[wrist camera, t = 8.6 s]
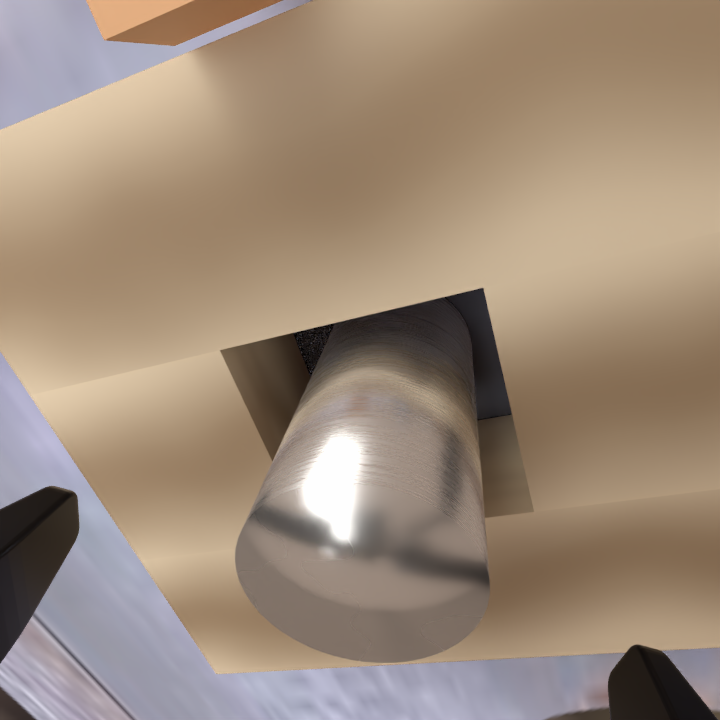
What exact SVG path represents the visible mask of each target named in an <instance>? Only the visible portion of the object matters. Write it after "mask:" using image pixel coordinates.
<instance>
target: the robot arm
mask: <svg viewBox="0 0 720 720" xmlns="http://www.w3.org/2000/svg"><path fill="white" fill-rule="evenodd" d="M78 533H79V513H78V499H77V495H76V494H75V492H73V491H71V490H67V489H63V488H59V487H56V486H49V487H45V488H43V489H41V490H39V491H37V492H35V493H33V494H30V495H28V496H26V497H24V498H22V499H20V500H18V501H16V502H14V503H12V504H10V505H8V506H6V507H4V508H2V509H0V663H1V662H2V660H3V659H4V658H5V656H6V655H7V653H8V652H9V651H10V649H11V648H12V646H13V645H14V643H15V642H16V640H17V639H18V638H19V636H20V635H21V633H22V632H23V630H24V628H25V627H26V625H27V623H28V622H29V620H30V618H31V617H32V615H33V613H34V612H35V610H36V608H37V606H38V605H39V603H40V601H41V600H42V598H43V596H44V594H45V593H46V591H47V589H48V588H49V586H50V584H51V582H52V581H53V579H54V577H55V575H56V574H57V572H58V570H59V569H60V567H61V565H62V563H63V562H64V560H65V558H66V556H67V555H68V553H69V551H70V550H71V548H72V546H73V544H74V543H75V541H76V538H77V536H78ZM608 695H609V707H610V719H611V720H718V719H717V718H716V717H715V716H714V714H713V713H712V712H711V710H710V709H709V708H708V707H707V705H706V704H705V703H704V702H703V700H702V699H701V698H700V697H699V695H698V694H697V693H696V692H695V690H694V689H693V688H692V687H691V685H690V684H689V683H688V682H687V680H686V679H685V678H684V677H683V675H682V674H681V673H680V672H679V670H678V669H677V668H676V666H675V665H674V664H673V663H672V661H671V660H670V659H669V658H668V657H667V656H666V655H665V654H664V653H663V652H662V651H660V650H657V649H654V648H650V647H647V646H643V645H639V644H636V645H633V646H631V647H630V648H629V649H628V651H627V652H626V653H625V655H624V656H623V657H622V658H621V660H620V661H619V662H618V664H617V665H616V666H615V667H614V669H613V670H612V672H611V674H610V676H609V681H608Z"/></svg>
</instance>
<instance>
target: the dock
mask: <svg viewBox="0 0 720 720" xmlns="http://www.w3.org/2000/svg"><path fill="white" fill-rule="evenodd" d="M480 288H484V293H485V297H486V302H487V306H488V310H489V315H490V319H491V324H492V328H493V333H494V337H495V341H496V346H497V350H498V355H499V359H500V363H501V368H502V372H503V377H504V381H505V386H506V390H507V394H508V399H509V403H510V408H511V412H512V415H507V416H502V417H496V418H490V419H484V420H478V435H479V448H480V461H481V474H482V487H483V500H484V513H485V526H486V539H487V553H488V566H489V579H490V596H489V601H488V606H487V609H486V611H485V613H484V616H483V618H482V619H481V621H480V622H479V624H478V625H477V627H476V628H475V629H474V630H473V631H472V632H471V633H470V634H469V635H468V636H467V637H466V638H464V639H463V640H462V641H461V642H459V643H458V644H456V645H454V646H453V647H451V648H449V649H448V650H445V651H443V652H441V653H438V654H436V655H433V656H429V657H426V658H423V659H418V660H413V661H407V662H396V663H373V662H362V661H356V660H349V659H345V658H341V657H336V656H333V655H330V654H327V653H323V652H320V651H318V650H315V649H313V648H311V647H308V646H306V645H304V644H302V643H300V642H298V641H296V640H294V639H293V638H291V637H289V636H288V635H286V634H285V633H283V632H281V631H280V630H279V629H277V628H276V627H275V626H274V625H272V624H271V623H270V622H269V621H268V620H267V619H265V618H264V617H263V616H262V615H261V614H260V613H259V611H258V610H257V609H256V608H255V607H254V606H253V604H252V603H251V602H250V600H249V599H248V597H247V596H246V594H245V592H244V590H243V588H242V586H241V584H240V581H239V578H238V575H237V572H236V565H235V549H236V544H237V540H238V537H239V535H240V533H241V530H242V528H243V526H244V524H245V521H246V519H247V517H248V515H249V513H250V510H251V508H252V506H253V504H254V502H255V499H256V497H257V495H258V493H259V491H260V488H261V486H262V484H263V482H264V479H265V477H266V475H267V473H268V471H269V468H270V466H271V464H272V462H273V460H274V457H275V455H276V453H277V451H278V449H279V446H280V444H281V442H282V440H283V437H284V435H285V433H286V431H287V429H288V426H289V424H290V422H291V420H292V418H293V415H294V413H295V411H296V409H297V407H298V404H299V402H300V400H301V398H302V395H303V393H304V391H305V389H306V387H307V384H308V382H309V380H310V378H311V377H310V375H309V372H308V370H307V367H306V365H305V362H304V360H303V357H302V355H301V352H300V350H299V347H298V345H297V342H296V340H295V337H294V335H293V333H295V332H299V331H303V330H307V329H312V328H316V327H320V326H324V325H328V324H333V323H337V322H341V321H345V320H349V319H354V318H358V317H362V316H366V315H371V314H375V313H379V312H383V311H387V310H392V309H396V308H400V307H404V306H409V305H413V304H417V303H421V302H425V301H430V300H434V299H438V298H442V297H447V296H451V295H455V294H459V293H463V292H468V291H472V290H476V289H480ZM0 351H1V353H2V354H3V356H4V357H5V359H6V360H7V362H8V363H9V365H10V366H11V368H12V369H13V371H14V372H15V374H16V375H17V377H18V378H19V380H20V381H21V383H22V384H23V386H24V387H25V389H26V390H27V392H28V393H29V395H30V396H31V398H32V399H33V401H34V402H35V404H36V405H37V407H38V408H39V410H40V411H41V413H42V414H43V416H44V417H45V419H46V420H47V422H48V423H49V425H50V426H51V428H52V429H53V431H54V432H55V434H56V435H57V437H58V438H59V440H60V441H61V443H62V444H63V446H64V447H65V449H66V450H67V452H68V453H69V455H70V456H71V458H72V459H73V461H74V462H75V464H76V465H77V467H78V468H79V470H80V471H81V473H82V474H83V476H84V477H85V479H86V480H87V482H88V483H89V485H90V486H91V488H92V489H93V491H94V492H95V494H96V495H97V497H98V498H99V500H100V501H101V502H102V504H103V505H104V507H105V508H106V510H107V511H108V513H109V514H110V516H111V517H112V519H113V520H114V522H115V523H116V525H117V526H118V528H119V529H120V531H121V532H122V534H123V535H124V537H125V538H126V540H127V541H128V543H129V544H130V546H131V547H132V549H133V550H134V552H135V553H136V555H137V556H138V558H139V559H140V561H141V562H142V564H143V565H144V567H145V568H146V570H147V571H148V573H149V574H150V576H151V577H152V579H153V580H154V582H155V583H156V585H157V586H158V588H159V589H160V591H161V592H162V594H163V595H164V597H165V598H166V600H167V601H168V603H169V604H170V606H171V607H172V609H173V610H174V612H175V613H176V615H177V616H178V618H179V619H180V621H181V622H182V624H183V625H184V627H185V628H186V630H187V631H188V633H189V634H190V636H191V637H192V639H193V640H194V642H195V643H196V645H197V646H198V648H199V649H200V651H201V652H202V654H203V655H204V657H205V658H206V660H207V661H208V663H209V664H210V666H211V667H212V668H213V670H214V671H215V673H216V674H227V673H246V672H265V671H284V670H303V669H322V668H341V667H360V666H379V665H398V664H417V663H436V662H455V661H474V660H493V659H512V658H531V657H550V656H569V655H588V654H606V653H625V652H627V651H628V649H629V648H630V647H631V646H633V645H636V644H639V645H643V646H647V647H650V648H654V649H657V650H660V651H663V650H682V649H701V648H720V0H313V1H310V2H308V3H306V4H303V5H301V6H298V7H296V8H293V9H291V10H289V11H286V12H284V13H281V14H279V15H277V16H274V17H272V18H269V19H267V20H265V21H262V22H260V23H257V24H255V25H252V26H250V27H248V28H245V29H243V30H240V31H238V32H236V33H233V34H231V35H228V36H226V37H223V38H221V39H219V40H216V41H214V42H211V43H209V44H207V45H204V46H202V47H199V48H197V49H195V50H192V51H190V52H187V53H185V54H182V55H180V56H178V57H175V58H173V59H170V60H168V61H166V62H163V63H161V64H158V65H156V66H153V67H151V68H149V69H146V70H144V71H141V72H139V73H137V74H134V75H132V76H129V77H127V78H124V79H122V80H120V81H117V82H115V83H112V84H110V85H108V86H105V87H103V88H100V89H98V90H96V91H93V92H91V93H88V94H86V95H83V96H81V97H79V98H76V99H74V100H71V101H69V102H67V103H64V104H62V105H59V106H57V107H54V108H52V109H50V110H47V111H45V112H42V113H40V114H38V115H35V116H33V117H30V118H28V119H26V120H23V121H21V122H18V123H16V124H13V125H11V126H9V127H6V128H4V129H1V130H0Z"/></svg>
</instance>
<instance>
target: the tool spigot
mask: <svg viewBox="0 0 720 720" xmlns="http://www.w3.org/2000/svg"><path fill="white" fill-rule="evenodd" d="M235 565H236V572H237V575H238V578H239V581H240V584H241V586H242V588H243V590H244V592H245V594H246V596H247V597H248V599H249V600H250V602H251V603H252V604H253V606H254V607H255V608H256V609H257V610H258V611H259V613H260V614H261V615H262V616H263V617H264V618H265V619H267V620H268V621H269V622H270V623H271V624H272V625H274V626H275V627H276V628H277V629H279V630H280V631H281V632H283V633H285V634H286V635H288V636H289V637H291V638H293V639H294V640H296V641H298V642H300V643H302V644H304V645H306V646H308V647H311V648H313V649H315V650H318V651H320V652H323V653H327V654H330V655H333V656H336V657H341V658H345V659H349V660H356V661H362V662H373V663H396V662H407V661H413V660H418V659H423V658H426V657H429V656H433V655H436V654H438V653H441V652H443V651H445V650H448V649H449V648H451V647H453V646H454V645H456V644H458V643H459V642H461V641H462V640H463V639H464V638H466V637H467V636H468V635H469V634H470V633H471V632H472V631H473V630H474V629H475V628H476V627H477V625H478V624H479V622H480V621H481V619H482V618H483V616H484V613H485V611H486V609H487V606H488V601H489V596H490V579H489V566H488V553H487V539H486V526H485V513H484V500H483V487H482V474H481V461H480V448H479V435H478V421H477V408H476V395H475V382H474V369H473V356H472V343H471V337H470V333H469V330H468V327H467V325H466V323H465V321H464V319H463V317H462V316H461V314H460V313H459V311H458V310H457V309H456V308H455V307H454V306H453V305H452V304H451V303H450V302H449V301H448V300H447V299H445V298H444V297H442V298H438V299H434V300H430V301H425V302H421V303H417V304H413V305H409V306H404V307H400V308H396V309H392V310H387V311H383V312H379V313H375V314H371V315H366V316H362V317H358V318H354V319H349V320H345V321H341V322H337V323H335V325H334V327H333V329H332V331H331V334H330V336H329V338H328V340H327V342H326V345H325V347H324V349H323V351H322V353H321V356H320V358H319V360H318V362H317V365H316V367H315V369H314V371H313V373H312V376H311V378H310V380H309V382H308V384H307V387H306V389H305V391H304V393H303V395H302V398H301V400H300V402H299V404H298V407H297V409H296V411H295V413H294V415H293V418H292V420H291V422H290V424H289V426H288V429H287V431H286V433H285V435H284V437H283V440H282V442H281V444H280V446H279V449H278V451H277V453H276V455H275V457H274V460H273V462H272V464H271V466H270V468H269V471H268V473H267V475H266V477H265V479H264V482H263V484H262V486H261V488H260V491H259V493H258V495H257V497H256V499H255V502H254V504H253V506H252V508H251V510H250V513H249V515H248V517H247V519H246V521H245V524H244V526H243V528H242V530H241V533H240V535H239V537H238V540H237V544H236V549H235Z"/></svg>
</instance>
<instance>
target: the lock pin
mask: <svg viewBox="0 0 720 720" xmlns="http://www.w3.org/2000/svg"><path fill="white" fill-rule="evenodd" d="M86 1H87V3H88V6H89V8H90V10H91V12H92V14H93V17H94V19H95V21H96V23H97V26H98V28H99V30H100V32H101V34H102V37H103V39H104V40H108V41H121V42H133V43H145V44H158V45H170V46H176V45H178V44H180V43H183V42H185V41H187V40H190V39H192V38H195V37H197V36H199V35H202V34H204V33H206V32H209V31H211V30H214V29H216V28H218V27H221V26H223V25H225V24H228V23H230V22H233V21H235V20H237V19H240V18H242V17H244V16H247V15H249V14H252V13H254V12H256V11H259V10H261V9H263V8H266V7H268V6H271V5H273V4H275V3H278V2H280V1H282V0H86Z"/></svg>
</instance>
